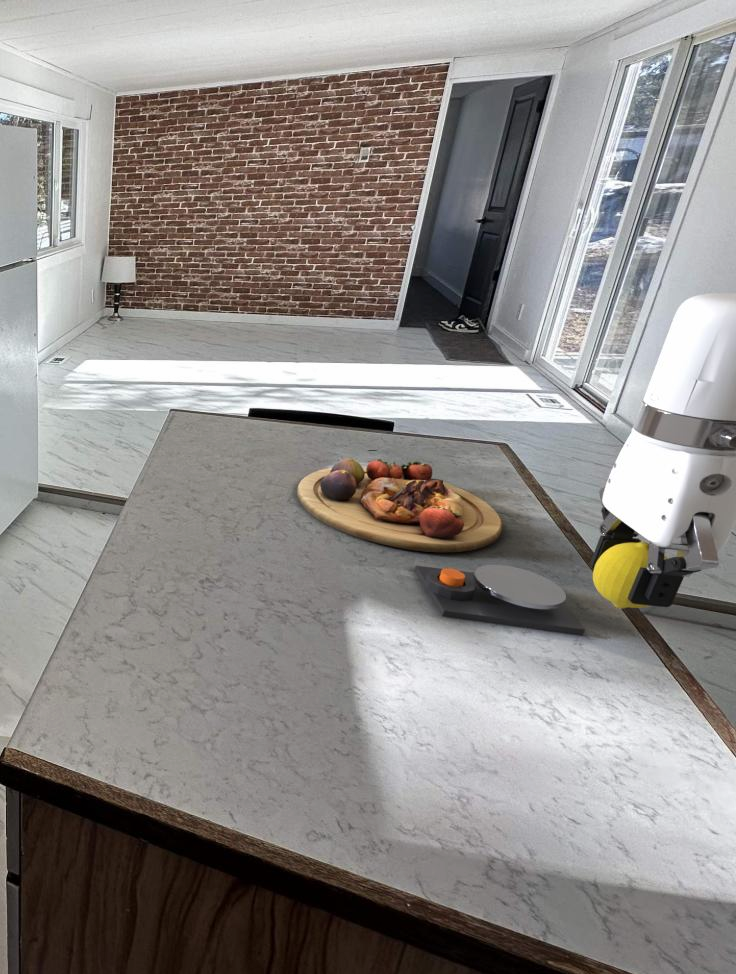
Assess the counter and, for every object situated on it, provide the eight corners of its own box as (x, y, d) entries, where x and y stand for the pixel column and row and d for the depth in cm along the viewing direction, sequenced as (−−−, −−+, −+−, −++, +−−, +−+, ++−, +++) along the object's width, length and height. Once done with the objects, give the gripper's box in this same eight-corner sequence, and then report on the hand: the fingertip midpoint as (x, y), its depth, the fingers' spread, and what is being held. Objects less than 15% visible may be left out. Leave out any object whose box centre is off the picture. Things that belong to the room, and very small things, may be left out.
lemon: (661, 609, 68) (690, 544, 65) (649, 630, 65) (679, 563, 62) (590, 586, 72) (614, 524, 69) (576, 605, 69) (600, 541, 66)
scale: (536, 590, 97) (543, 571, 96) (580, 641, 87) (589, 619, 85) (410, 575, 102) (415, 556, 101) (437, 620, 92) (443, 600, 91)
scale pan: (542, 574, 95) (544, 569, 95) (580, 614, 86) (582, 609, 86) (462, 565, 98) (463, 560, 98) (490, 603, 90) (492, 598, 89)
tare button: (458, 578, 96) (461, 569, 95) (465, 589, 93) (468, 580, 93) (436, 575, 97) (438, 567, 96) (443, 586, 94) (445, 577, 94)
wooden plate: (536, 568, 102) (553, 523, 99) (312, 543, 112) (321, 501, 109) (458, 483, 130) (468, 446, 127) (284, 469, 140) (290, 434, 137)
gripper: (831, 465, 52) (740, 644, 59) (678, 400, 67) (620, 548, 74) (710, 459, 54) (636, 632, 61) (589, 397, 69) (540, 541, 76)
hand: (628, 584), depth 67 cm, fingers closed on lemon, 5 cm apart
